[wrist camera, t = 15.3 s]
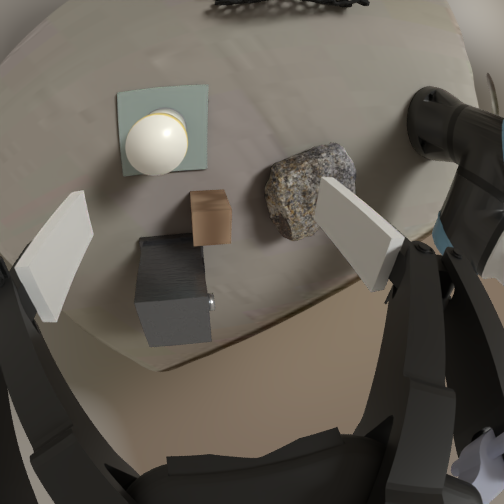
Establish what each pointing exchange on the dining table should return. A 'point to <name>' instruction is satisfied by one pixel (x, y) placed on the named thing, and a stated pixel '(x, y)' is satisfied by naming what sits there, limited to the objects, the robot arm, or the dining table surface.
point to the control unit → (173, 291)
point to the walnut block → (210, 217)
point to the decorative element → (342, 3)
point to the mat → (176, 97)
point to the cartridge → (157, 142)
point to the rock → (305, 187)
